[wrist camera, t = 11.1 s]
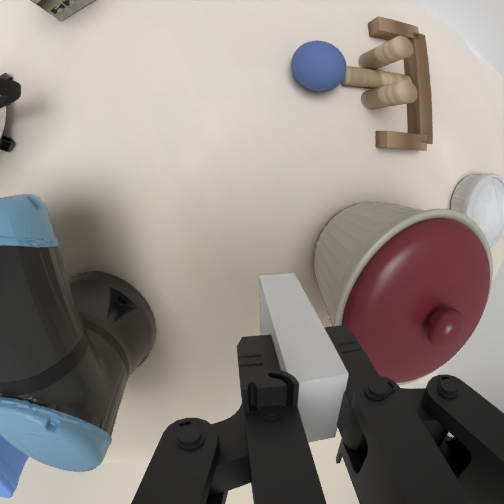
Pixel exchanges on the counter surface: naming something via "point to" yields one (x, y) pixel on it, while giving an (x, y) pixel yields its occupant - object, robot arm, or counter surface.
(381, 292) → the canister
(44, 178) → the counter surface
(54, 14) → the coffee box
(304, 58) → the ball
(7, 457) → the water jug
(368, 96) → the pin
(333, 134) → the counter surface
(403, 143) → the rail
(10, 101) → the coffee press
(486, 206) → the ramekin
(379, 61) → the pin
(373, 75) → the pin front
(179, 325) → the counter surface
